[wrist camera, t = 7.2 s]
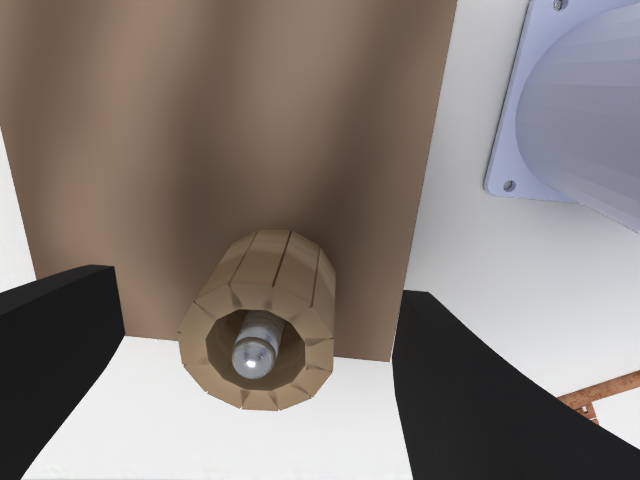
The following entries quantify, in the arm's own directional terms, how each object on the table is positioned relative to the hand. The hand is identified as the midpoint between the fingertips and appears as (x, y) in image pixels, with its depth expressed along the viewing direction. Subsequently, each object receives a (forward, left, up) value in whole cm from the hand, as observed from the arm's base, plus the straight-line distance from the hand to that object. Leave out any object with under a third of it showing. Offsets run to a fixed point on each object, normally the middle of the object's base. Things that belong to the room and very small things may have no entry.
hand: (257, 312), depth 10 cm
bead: (+1, +4, -8) cm, 9 cm away
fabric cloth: (+4, -1, -10) cm, 10 cm away
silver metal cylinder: (+1, +4, -8) cm, 9 cm away
